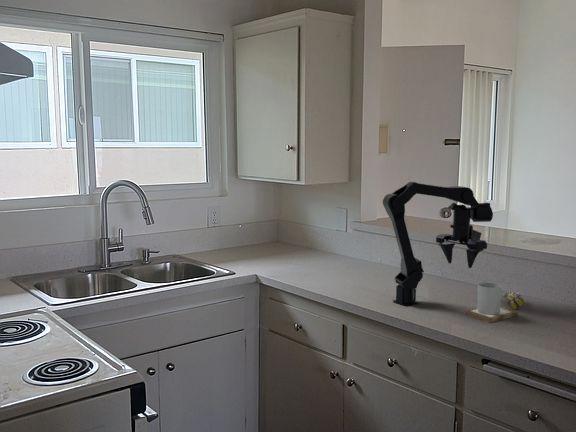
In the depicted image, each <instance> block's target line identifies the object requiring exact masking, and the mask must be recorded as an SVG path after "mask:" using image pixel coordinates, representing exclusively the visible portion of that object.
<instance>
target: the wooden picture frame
mask: <svg viewBox="0 0 576 432" xmlns="http://www.w3.org/2000/svg"><path fill="white" fill-rule="evenodd" d="M518 313H519V312H518V311H517V310H516V311H515V310H511V309H508V308H505V307H501V306H500V313H499V314H496V315H487V314H482V313H479V312H478V311H477V307H476V308H472V309H467V310H464V313H463V314H464V315H465V316H468V317H471V318H474V319H478V320H479V321H483V322H486V323H493V322H497V321H501V320H506V319H509V318H514V317H517V316H519V314H518Z"/></svg>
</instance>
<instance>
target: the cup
mask: <svg viewBox="0 0 576 432" xmlns="http://www.w3.org/2000/svg"><path fill="white" fill-rule="evenodd" d="M501 300H502V285H501V284H498V283H494V282H479V283H478V284H477V299H476V308H477V311H478V312H479V313H482V314H487V315H496V314H499V313H500V307H501V306H502V305H501V302H502V301H501Z"/></svg>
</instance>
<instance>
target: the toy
mask: <svg viewBox="0 0 576 432" xmlns="http://www.w3.org/2000/svg"><path fill="white" fill-rule="evenodd" d="M501 297H502V298H503V299H505V301H507V303H508V304H510V306H511V308H512V309H513V310H517V307H518V306H519V307H521V306H522V305H523V303H525V299H524V298H523V297H522V296H521V293H520V292H519V291H518V292H515V291H512V290H509V291H508V293H507V292H505V293H504V294H501Z"/></svg>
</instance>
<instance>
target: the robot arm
mask: <svg viewBox="0 0 576 432" xmlns="http://www.w3.org/2000/svg"><path fill="white" fill-rule="evenodd" d="M474 194H475V193H474V191H473V190H472V188H471V187H466V186H460V185H459V186H456V185H455V186H454V185H452V186H438V185H433V184H425V183H420V182H416V181H409V182H407V183H406V184H405V185H404V186H402V187H399V188H398V189H397V190H394V191H393V192H391V193H388V194H386V195H385V196H384V197H383V199H382V206H383V208H384V210H385V212H386V214H387V215H388V217H389V219H390V221H391V224H392V226H393V231H394V235H395V238H396V242H397V246H398V249H399V254H400V265H399V266H400V272H398V273H397V275H396V276H395V277H394V280H395V283H396V284H397V285H396V288H395V289H396V290H395V293H396V294H395V296H396V297H395V299H394V300H393V299H392V302H393V303H396V304H398V305H401V306H405V307H406V306H411V305H417V304H419V301H417V300H416V297H417V288H418V285H419V284H420V283H419V282H421V281H422V279H423V278H424V273H425V271H424V269H423V266H422V265H423V263H422V260H420V259H418V258H416V257H415V255H414V253H413V251H414V250H413V247H412V243H411V240H410V237H409V233H408V232H409V231H408V228H407V224H406V221H405V215H406V207H405V205H406V204H407V203H408V202H410V201H411V199H412V198H413V197H415V195H423V196H425V195H426V196H431V197H436V198H437V197H438V198H444V199H447V200H450V201H453V202H452V203H451V204H450V205H448V207H447V209H448V210H451V211H453V218H452V222H453V223H452V224H450V228H451V229H452V234H450V233H442V234H438V235H436V236H435V242H436V243H437V244H438V246H440V248H441V250H442V252H443V254H444V256H445V258H446V261H447V263H448V264H452V261H453V249H454V247H455V245H456V244H458V245H461V246H462V245H463V246H466V247H467V249H465V250H466V251H465V252H466V261H467V266H468V269H471V268H473V265H474V263H475V260H476V258H477V256H478V254H479V253H480V252H483V251H484V250H487V248H488V242H487V240H484V239H481V238H482V237H481V236H482V232H481V231H480V232H479V231H478V230H475V229H474V227H473V224H471V220H472V222H473V223H487V222H492V220H493V216H494V213H493V209H492V207H491V203H490V202H481V203H480V202H479V201H477V199H476V198H475V196H474ZM457 203H460V204H457ZM468 206H469V207H468Z"/></svg>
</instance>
